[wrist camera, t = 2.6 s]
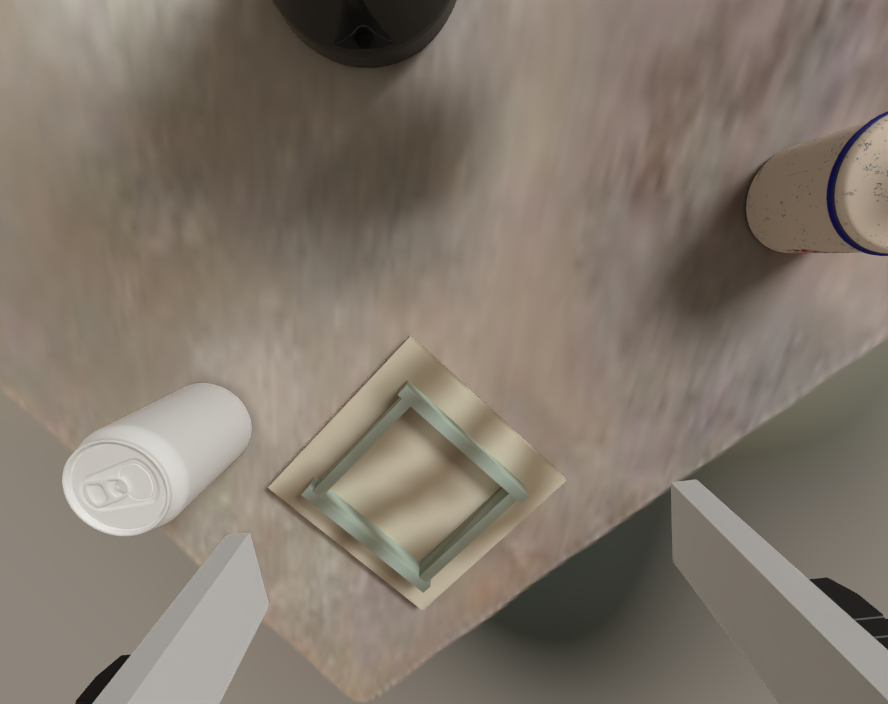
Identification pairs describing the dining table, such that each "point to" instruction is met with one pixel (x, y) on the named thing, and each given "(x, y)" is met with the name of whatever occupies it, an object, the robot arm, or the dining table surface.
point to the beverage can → (155, 459)
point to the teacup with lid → (825, 194)
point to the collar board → (416, 476)
